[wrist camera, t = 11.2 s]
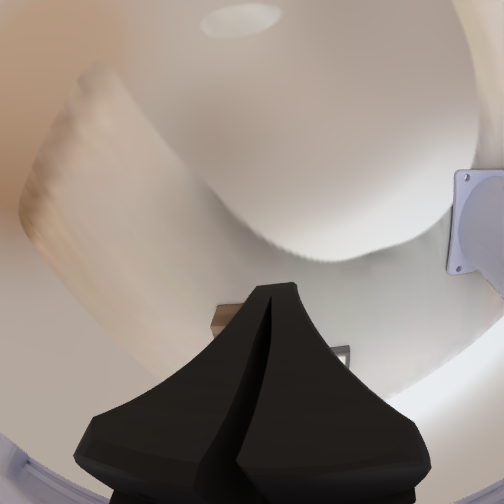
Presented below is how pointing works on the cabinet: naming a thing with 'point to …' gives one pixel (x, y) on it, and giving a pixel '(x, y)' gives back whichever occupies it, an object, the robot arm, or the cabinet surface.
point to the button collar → (223, 317)
